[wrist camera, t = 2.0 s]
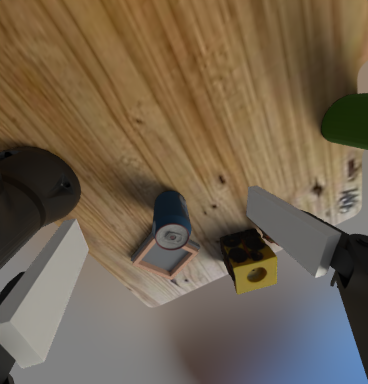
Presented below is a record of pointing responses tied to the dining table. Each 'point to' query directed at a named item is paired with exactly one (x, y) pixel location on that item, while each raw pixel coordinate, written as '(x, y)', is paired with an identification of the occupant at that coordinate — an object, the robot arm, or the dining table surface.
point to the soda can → (171, 221)
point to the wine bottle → (348, 121)
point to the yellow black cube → (249, 261)
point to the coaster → (163, 257)
